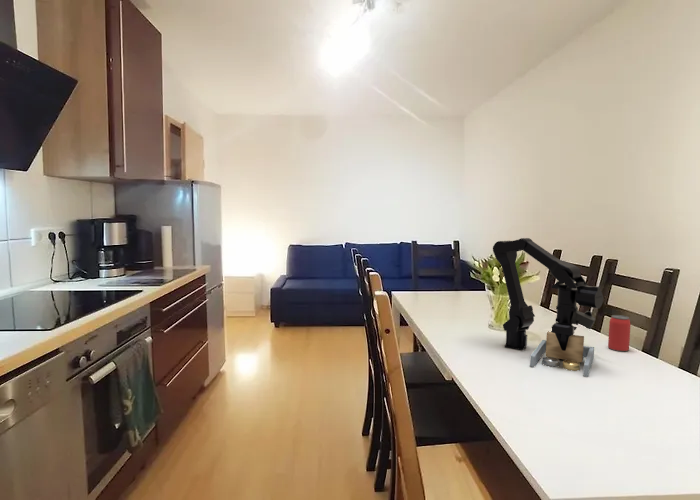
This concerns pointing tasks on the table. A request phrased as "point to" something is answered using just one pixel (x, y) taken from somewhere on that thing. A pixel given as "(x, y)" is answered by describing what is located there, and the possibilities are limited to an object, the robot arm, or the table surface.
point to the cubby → (587, 353)
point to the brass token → (571, 365)
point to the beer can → (619, 333)
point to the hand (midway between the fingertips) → (564, 349)
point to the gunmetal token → (550, 361)
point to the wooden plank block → (572, 350)
